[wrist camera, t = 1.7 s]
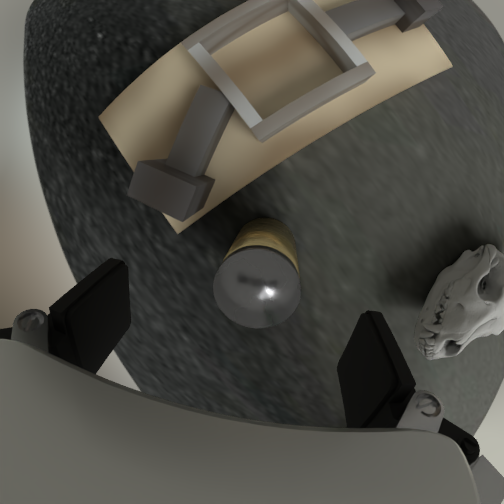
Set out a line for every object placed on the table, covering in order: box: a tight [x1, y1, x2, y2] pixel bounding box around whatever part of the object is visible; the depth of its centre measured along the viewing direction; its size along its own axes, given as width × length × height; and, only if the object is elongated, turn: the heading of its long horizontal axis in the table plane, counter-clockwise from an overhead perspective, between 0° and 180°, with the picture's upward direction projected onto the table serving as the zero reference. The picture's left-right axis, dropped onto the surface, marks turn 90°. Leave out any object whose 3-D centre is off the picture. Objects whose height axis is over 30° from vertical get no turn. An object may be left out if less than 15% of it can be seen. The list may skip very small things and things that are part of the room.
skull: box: [414, 244, 504, 360], centre depth 16 cm, size 8×9×12 cm
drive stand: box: [99, 0, 453, 234], centre depth 13 cm, size 11×24×6 cm, turn 125°
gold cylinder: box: [213, 218, 301, 328], centre depth 17 cm, size 4×4×7 cm
